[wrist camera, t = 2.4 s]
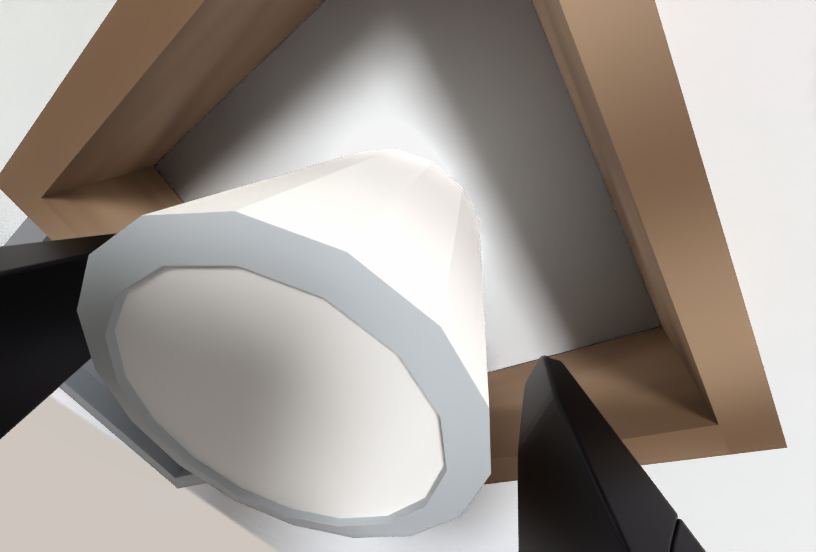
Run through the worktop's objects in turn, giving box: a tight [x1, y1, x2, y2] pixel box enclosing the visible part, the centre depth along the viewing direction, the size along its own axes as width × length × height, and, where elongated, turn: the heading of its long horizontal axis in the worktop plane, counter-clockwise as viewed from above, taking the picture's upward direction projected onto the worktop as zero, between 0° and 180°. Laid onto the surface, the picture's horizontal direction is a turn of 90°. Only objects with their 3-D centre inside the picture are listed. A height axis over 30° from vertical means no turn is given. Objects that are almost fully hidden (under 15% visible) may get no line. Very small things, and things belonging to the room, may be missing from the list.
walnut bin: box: [0, 0, 787, 484], centre depth 10 cm, size 14×14×4 cm
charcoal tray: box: [4, 217, 207, 488], centre depth 17 cm, size 14×11×2 cm
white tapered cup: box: [77, 149, 491, 538], centre depth 9 cm, size 7×7×7 cm
